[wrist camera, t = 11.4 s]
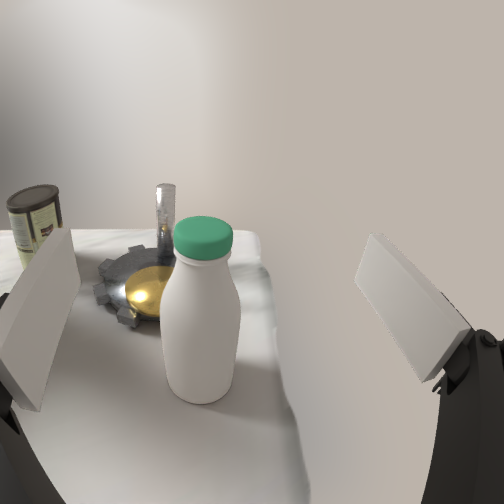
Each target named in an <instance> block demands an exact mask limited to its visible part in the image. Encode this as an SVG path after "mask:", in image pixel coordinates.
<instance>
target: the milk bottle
mask: <svg viewBox="0 0 504 504" xmlns="http://www.w3.org/2000/svg"><path fill="white" fill-rule="evenodd" d="M173 238H174V254H175V256H176V257H177V260H176V264H175V267H174V270H173V273H172V275H171V277H170V279H169V280H168V282H167V284H166V286H165V289H164V291H163V294H162V298H161V303H160V328H161V338H162V347H163V354H164V362H165V369H166V375H167V380H168V384H169V386H170V388H171V390H172V391H173V392H174V393H175V394H176V395H177V396H178V397H180V398H181V399H183V400H185V401H187V402H190V403H195V404H207V403H211V402H214V401H216V400H218V399H220V398H221V397H223V396H224V395H225V394H226V393H227V392H228V390H229V388H230V386H231V383H232V378H233V372H234V365H235V358H236V352H237V344H238V337H239V329H240V318H241V309H240V300H239V296H238V293H237V290H236V287H235V285H234V283H233V281H232V278H231V276H230V273H229V268H228V263H227V260H228V259H229V258H230V256H231V247H232V242H233V231H232V228H231V226H230V225H229V224H227V223H226V222H224V221H222V220H220V219H217V218H213V217H206V216H196V217H190V218H186V219H183V220H182V221H180V222H179V223H177V224H176V226H175V228H174V236H173Z"/></svg>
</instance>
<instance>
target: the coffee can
mask: <svg viewBox="0 0 504 504" xmlns="http://www.w3.org/2000/svg"><path fill="white" fill-rule="evenodd" d="M58 194H59V190H58V187H56V186H54V185H37V186H33V187H29V188H26V189H23V190H21V191H19V192H17V193H15V194H14V195H12V196H11V197H10V198H9V199H8V200H7V201H6V206H7V209H8V213H9V217H10V222H11V227H12V231H13V235H14V239H15V242H16V246H17V250H18V253H19V257H20V260H21V263H22V266H23V270H25V268H26V267H27V265H28V264H29V262H30V261H31V260H32V258H33V257H34V255H35V254H36V252H37V251H38V250H39V248H40V247H41V245H42V244H43V243H44V241H45V240H46V239H47V237H48V236H49V235H50V233H51V232H52V231H53V229H54V228H63V223H62V217H61V210H60V203H59V197H58Z"/></svg>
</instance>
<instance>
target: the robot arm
mask: <svg viewBox="0 0 504 504" xmlns="http://www.w3.org/2000/svg"><path fill="white" fill-rule="evenodd" d="M354 282H355V283H356V285H357V286H358V288H359V289H360V291H361V292H362V293H363V295H364V296H365V298H366V299H367V300H368V302H369V303H370V305H371V306H372V307H373V309H374V310H375V312H376V313H377V315H378V316H379V317H380V319H381V321H382V322H383V323H384V325H385V326H386V328H387V330H388V331H389V333H390V334H391V335H392V337H393V339H394V340H395V341H396V343H397V345H398V346H399V348H400V349H401V351H402V352H403V354H404V355H405V357H406V358H407V360H408V361H409V363H410V365H411V366H412V368H413V370H414V371H415V373H416V374H417V376H418V378H419V379H420V381H421V382H422V383H423V382H426V381H428V380H431V379H434V378H435V376H437V374H438V373H439V372H440V370H441V369H442V368H443V369H444V370H445V372H446V373H445V374H444V375H443V377H442V378H441V379H440V380H439V382H438V383H437V384H436V385H435V386H434V387H433V390H432V392H435V391H436V390H437V388H438V387H441V389H440V390H439V391H438V392H437V393H438V394H440V406H439V415H438V423H437V430H436V437H435V444H434V449H433V455H432V460H431V465H430V470H429V474H428V479H427V482H426V487H425V491H424V494H423V498H422V501H421V504H504V339H503V340H502V341H497V340H496V338H495V337H494V336H493V335H492V334H490V333H489V332H488V331H486V330H482V329H480V330H477V331H475V330H474V329H473V328H472V327H471V326H470V325H469V323H468V322H467V321H466V320H465V318H464V317H463V316H462V315H461V314H460V313H459V311H458V310H457V309H455V307H454V306H453V305H452V304H451V303H449V300H448V299H447V298H446V297H445V296H444V295H443V293H441V292H440V291H439V290H438V289H437V288H436V287H435V286H434V285H433V284H432V283H431V282H430V281H429V280H428V279H427V278H426V277H425V275H424V274H423V273H422V272H421V271H420V270H419V269H418V268H417V267H416V266H415V265H414V264H413V263H412V262H411V261H410V260H409V259H408V258H407V257H406V256H405V255H404V254H403V253H402V252H401V251H400V250H398V248H396V247H395V245H394V244H393V243H391V241H389V240H388V239H387V238H386V237H385V236H384V235H383V234H376V233H370V235H369V238H368V241H367V244H366V247H365V250H364V253H363V256H362V259H361V262H360V265H359V268H358V270H357V273H356V276H355V279H354ZM80 285H81V279H80V275H79V271H78V266H77V262H76V257H75V252H74V247H73V242H72V237H71V231H70V228H54V229H53V231H52V232H51V233H50V235H49V236H48V237H47V239H46V240H45V241H44V243H43V244H42V245H41V247H40V248H39V250H38V251H37V252H36V254H35V255H34V257H33V258H32V260H31V261H30V262H29V264H28V265H27V267H26V268H25V270H24V271H23V273H22V274H21V276H20V278H19V279H18V281H17V282H16V284H15V285H14V287H13V289H12V290H11V292H10V293H4V294H3V295H2V296H1V297H0V504H66V503H65V502H64V500H63V499H62V497H61V496H60V495H59V493H58V492H57V490H56V489H55V487H54V486H53V484H52V482H51V481H50V479H49V478H48V476H47V474H46V473H45V471H44V469H43V468H42V466H41V464H40V463H39V461H38V459H37V457H36V455H35V454H34V452H33V450H32V448H31V446H30V444H29V442H28V440H27V438H26V436H25V434H24V432H23V430H22V428H21V426H20V423H19V421H18V419H17V417H16V414H15V412H14V411H13V409H12V408H11V407H10V406H11V403H12V399H14V400H15V401H16V403H17V404H18V405H19V406H20V407H21V408H23V409H27V410H32V411H36V412H40V408H41V404H42V400H43V396H44V392H45V388H46V384H47V380H48V377H49V373H50V369H51V366H52V363H53V359H54V356H55V353H56V350H57V347H58V344H59V341H60V338H61V335H62V332H63V329H64V326H65V323H66V321H67V318H68V315H69V313H70V310H71V307H72V305H73V302H74V300H75V297H76V295H77V292H78V290H79V287H80Z"/></svg>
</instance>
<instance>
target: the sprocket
mask: <svg viewBox="0 0 504 504" xmlns="http://www.w3.org/2000/svg"><path fill="white" fill-rule="evenodd" d="M156 215H157V216H156V217H157V248H147V249H145V247H144V246H143V245H138V246H134V247H130V248H128V250H129V253H127V254H125V255H123V256H121V257H120V258H118V259H117V260H115V261H114V260H110V259H106V260H105V261H104V262H103V263H102V264H101V265H100V266H99V267H98V269H99V274H100V276H104V283H103V284H99V285H95V286H93V290H94V294H95V297H96V300H97V303H98V306H99V305H102V304H106V303H109V302H110V303H111V305H112V306H113V307H114V308H115V309H116V310H118V312H117V314H116V316H117V320H118V323H121V324H124V325H128V326H131V327H134V328H136V327H137V325H138V323H139V322H140V320H160V303H161V298H162V294H163V291H164V289H165V286H166V284H167V282H168V280H169V279H170V277H171V275H172V273H173V270H174V267H175V264H176V260H177V257H176V256H175V254H174V238H173V236H174V228H175V185H173V184H159V185H157V187H156Z"/></svg>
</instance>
